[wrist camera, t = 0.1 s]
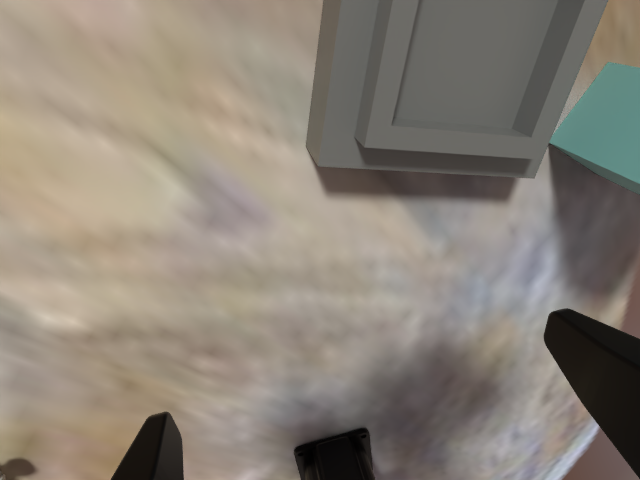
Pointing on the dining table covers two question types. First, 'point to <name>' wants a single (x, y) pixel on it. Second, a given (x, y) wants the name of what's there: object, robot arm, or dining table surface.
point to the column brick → (606, 127)
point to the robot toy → (2, 476)
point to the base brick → (445, 83)
